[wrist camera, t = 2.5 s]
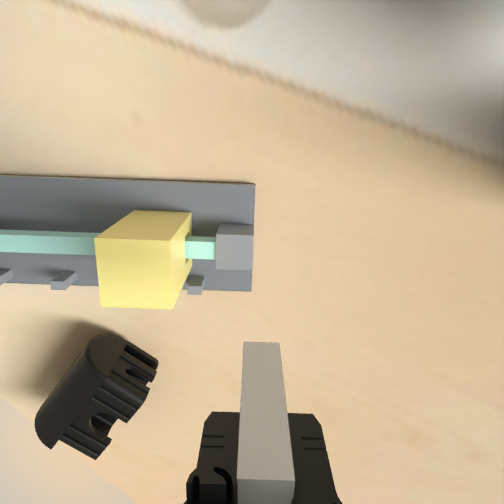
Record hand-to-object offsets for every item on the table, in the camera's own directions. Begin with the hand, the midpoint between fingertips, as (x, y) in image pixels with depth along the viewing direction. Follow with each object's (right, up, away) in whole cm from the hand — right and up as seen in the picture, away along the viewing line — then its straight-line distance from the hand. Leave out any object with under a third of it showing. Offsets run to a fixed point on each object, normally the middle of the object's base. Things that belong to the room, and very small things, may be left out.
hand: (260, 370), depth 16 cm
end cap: (-15, -8, +24) cm, 30 cm away
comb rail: (-14, +7, +19) cm, 25 cm away
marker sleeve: (-8, +6, +18) cm, 21 cm away
